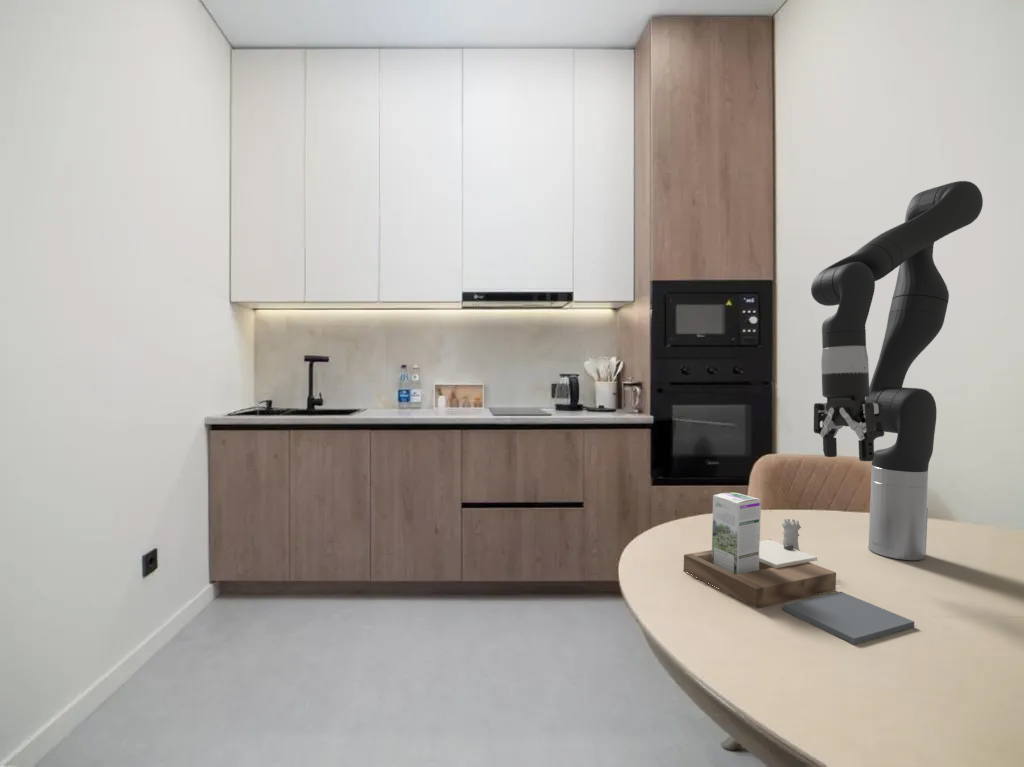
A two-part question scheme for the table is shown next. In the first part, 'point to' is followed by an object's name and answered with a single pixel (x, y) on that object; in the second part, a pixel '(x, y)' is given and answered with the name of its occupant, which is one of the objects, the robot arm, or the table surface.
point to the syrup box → (736, 532)
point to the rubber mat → (848, 617)
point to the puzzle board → (763, 580)
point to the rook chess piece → (791, 533)
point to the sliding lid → (782, 554)
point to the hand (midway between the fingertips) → (847, 458)
